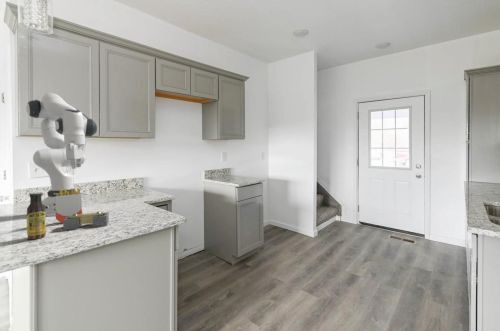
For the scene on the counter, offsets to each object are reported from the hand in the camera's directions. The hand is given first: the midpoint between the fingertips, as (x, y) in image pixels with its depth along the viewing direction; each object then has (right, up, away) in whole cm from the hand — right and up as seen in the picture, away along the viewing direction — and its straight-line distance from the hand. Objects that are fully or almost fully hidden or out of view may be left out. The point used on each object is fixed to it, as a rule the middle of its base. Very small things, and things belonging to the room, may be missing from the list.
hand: (76, 167), depth 127 cm
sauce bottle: (-4, -31, -19) cm, 36 cm away
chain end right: (+13, -29, -1) cm, 32 cm away
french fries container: (-7, -29, +4) cm, 30 cm away
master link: (+8, -28, -3) cm, 29 cm away
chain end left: (+2, -30, -6) cm, 30 cm away
